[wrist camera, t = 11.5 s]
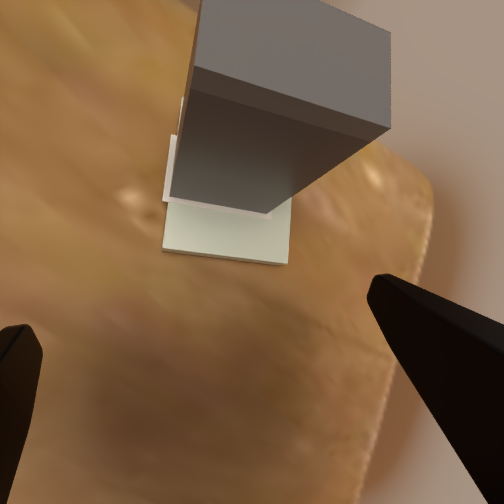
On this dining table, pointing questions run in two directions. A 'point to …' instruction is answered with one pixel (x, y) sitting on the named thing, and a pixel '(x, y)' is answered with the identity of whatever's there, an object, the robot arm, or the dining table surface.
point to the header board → (224, 227)
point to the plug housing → (277, 99)
